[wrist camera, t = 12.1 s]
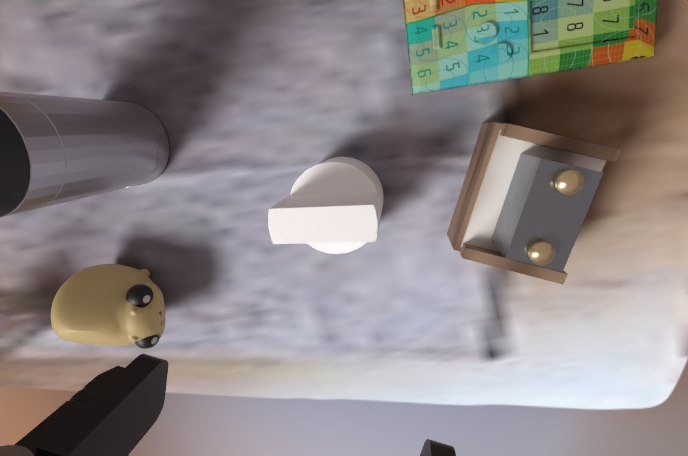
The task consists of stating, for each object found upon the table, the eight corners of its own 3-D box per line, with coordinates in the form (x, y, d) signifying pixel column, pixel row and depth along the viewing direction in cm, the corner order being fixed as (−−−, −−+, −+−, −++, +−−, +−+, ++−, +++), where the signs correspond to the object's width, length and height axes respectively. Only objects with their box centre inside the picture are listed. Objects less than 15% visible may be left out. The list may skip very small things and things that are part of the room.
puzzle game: (398, -56, 32) (671, -117, 28) (399, -34, 36) (634, -84, 33) (412, 93, 34) (661, 53, 31) (411, 96, 39) (628, 62, 36)
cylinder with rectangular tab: (381, 154, 41) (375, 165, 29) (385, 235, 43) (380, 276, 31) (299, 158, 42) (261, 172, 30) (306, 237, 44) (274, 277, 33)
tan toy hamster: (192, 329, 50) (138, 382, 39) (107, 319, 51) (34, 368, 41) (187, 257, 47) (128, 294, 37) (97, 249, 48) (17, 282, 38)
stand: (447, 233, 42) (457, 256, 35) (483, 122, 38) (502, 122, 31) (539, 257, 41) (568, 285, 34) (584, 146, 38) (627, 151, 30)
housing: (520, 153, 33) (545, 159, 27) (573, 165, 33) (609, 173, 27) (490, 239, 35) (507, 261, 30) (540, 251, 35) (566, 275, 29)
